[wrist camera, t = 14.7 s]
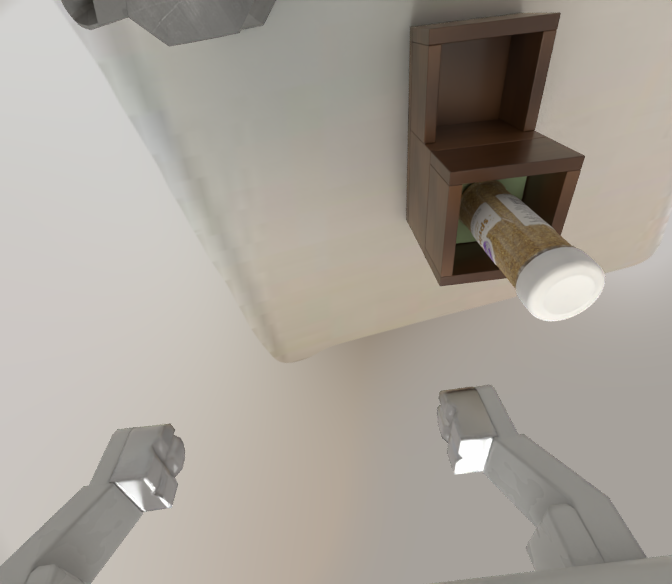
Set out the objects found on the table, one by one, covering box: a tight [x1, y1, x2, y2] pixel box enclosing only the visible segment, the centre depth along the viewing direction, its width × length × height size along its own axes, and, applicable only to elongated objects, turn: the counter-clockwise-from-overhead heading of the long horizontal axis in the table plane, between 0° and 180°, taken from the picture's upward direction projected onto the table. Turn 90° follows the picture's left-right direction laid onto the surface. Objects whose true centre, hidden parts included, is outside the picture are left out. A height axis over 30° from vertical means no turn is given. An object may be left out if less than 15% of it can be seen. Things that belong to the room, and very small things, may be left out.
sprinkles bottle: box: [459, 180, 605, 321], centre depth 27 cm, size 5×5×14 cm
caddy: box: [406, 13, 585, 286], centre depth 31 cm, size 18×10×13 cm, turn 6°
